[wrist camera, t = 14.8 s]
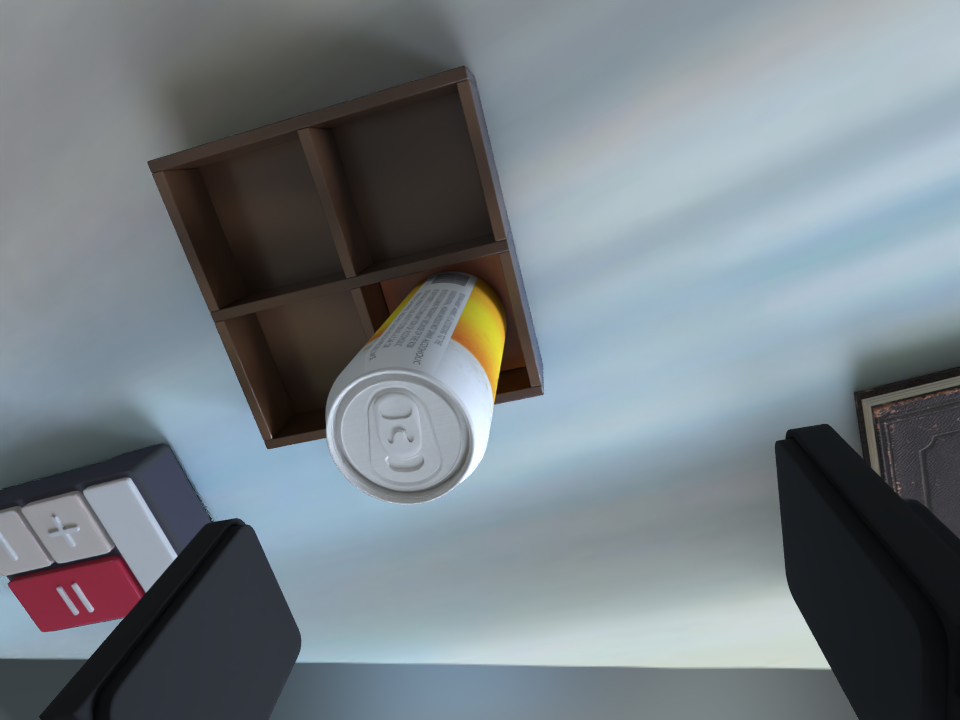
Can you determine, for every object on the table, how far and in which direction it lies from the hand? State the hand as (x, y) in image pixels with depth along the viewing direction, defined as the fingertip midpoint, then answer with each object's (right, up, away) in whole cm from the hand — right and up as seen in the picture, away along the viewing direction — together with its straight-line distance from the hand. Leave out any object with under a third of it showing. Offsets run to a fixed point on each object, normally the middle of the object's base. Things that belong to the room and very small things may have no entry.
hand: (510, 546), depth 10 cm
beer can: (-2, +6, +24) cm, 25 cm away
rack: (-7, +9, +25) cm, 27 cm away
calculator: (-27, -9, +33) cm, 44 cm away
